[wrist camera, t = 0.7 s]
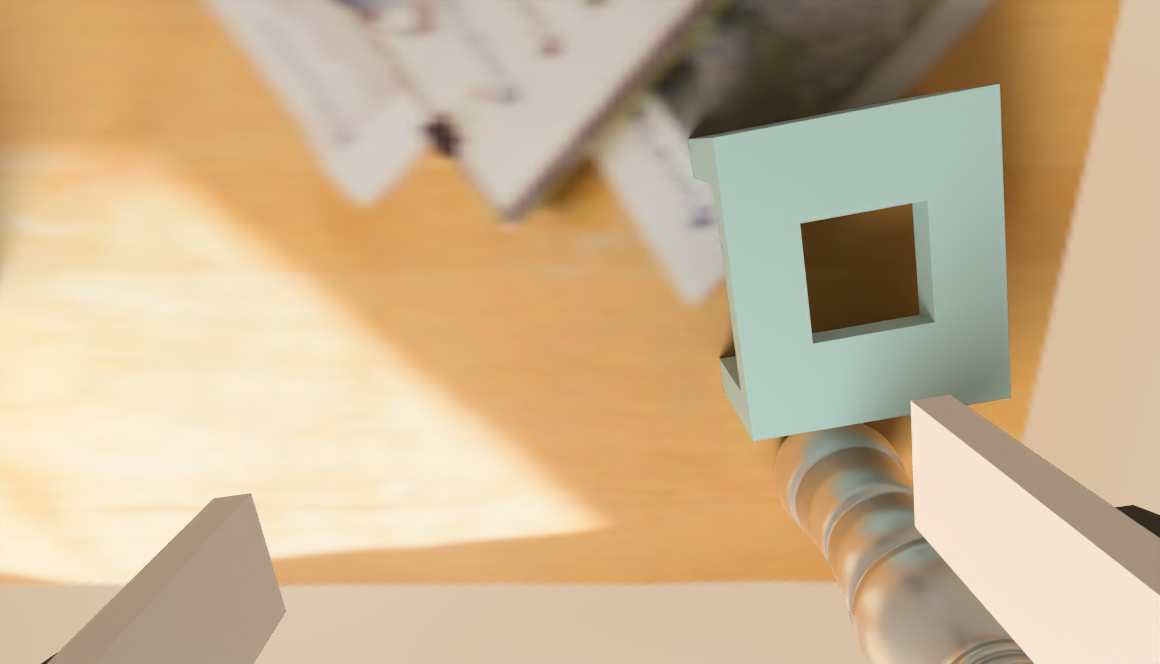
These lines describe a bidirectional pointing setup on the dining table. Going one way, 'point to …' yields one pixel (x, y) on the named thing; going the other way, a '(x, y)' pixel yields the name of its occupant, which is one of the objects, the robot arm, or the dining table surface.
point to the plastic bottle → (884, 552)
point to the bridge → (848, 186)
